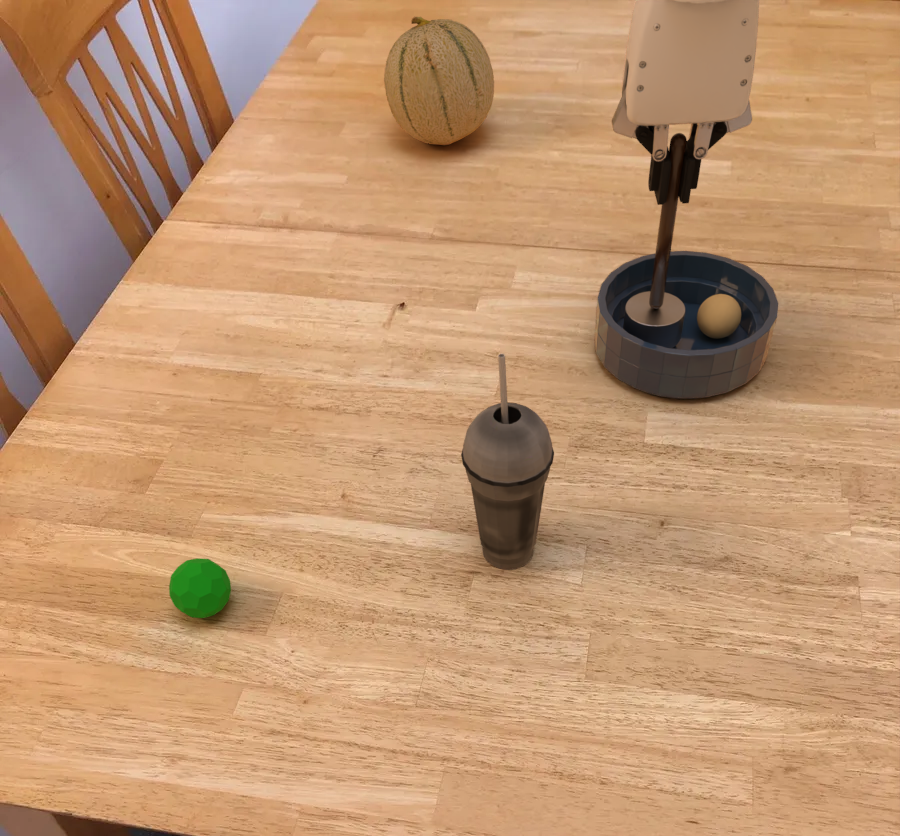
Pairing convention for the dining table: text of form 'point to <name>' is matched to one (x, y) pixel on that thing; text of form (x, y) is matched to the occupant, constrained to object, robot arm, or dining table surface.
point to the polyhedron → (199, 588)
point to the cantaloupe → (439, 81)
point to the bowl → (687, 327)
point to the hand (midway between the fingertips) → (670, 195)
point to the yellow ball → (719, 316)
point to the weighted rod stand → (661, 271)
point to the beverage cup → (507, 477)
